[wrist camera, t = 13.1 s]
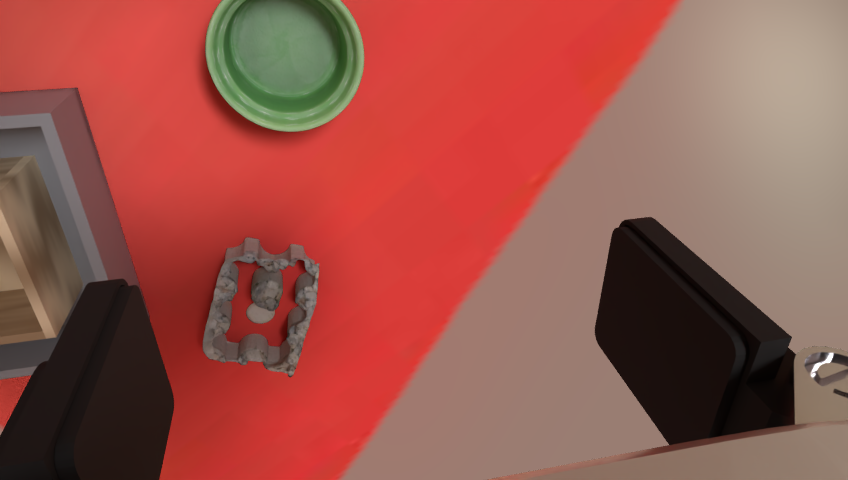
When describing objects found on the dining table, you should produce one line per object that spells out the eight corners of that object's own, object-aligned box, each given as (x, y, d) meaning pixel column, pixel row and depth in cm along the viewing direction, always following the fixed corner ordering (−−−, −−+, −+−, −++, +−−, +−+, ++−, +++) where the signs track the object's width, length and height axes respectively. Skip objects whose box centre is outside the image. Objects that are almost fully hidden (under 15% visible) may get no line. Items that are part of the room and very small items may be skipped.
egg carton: (293, 349, 50) (293, 383, 47) (202, 336, 48) (195, 371, 44) (327, 247, 46) (330, 276, 42) (228, 226, 43) (223, 256, 40)
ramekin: (362, 103, 40) (370, 124, 37) (228, 116, 39) (223, 139, 35) (349, -39, 36) (357, -31, 32) (197, -30, 34) (187, -22, 31)
